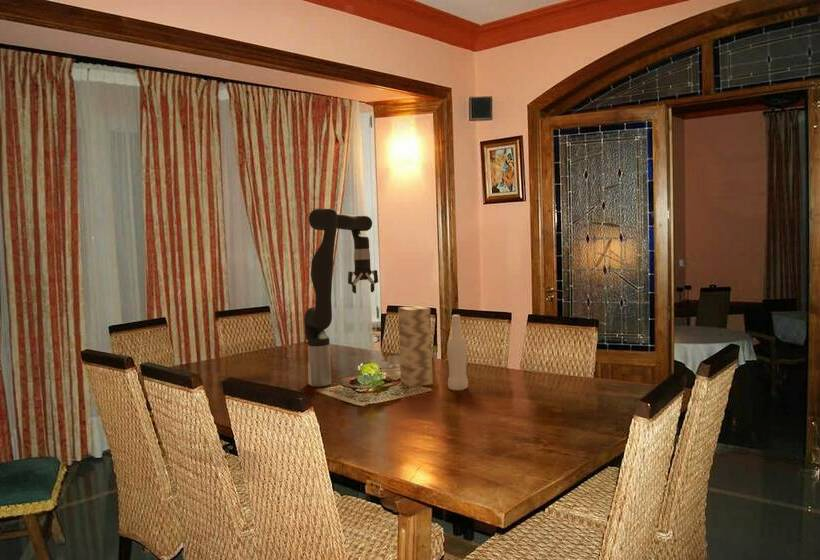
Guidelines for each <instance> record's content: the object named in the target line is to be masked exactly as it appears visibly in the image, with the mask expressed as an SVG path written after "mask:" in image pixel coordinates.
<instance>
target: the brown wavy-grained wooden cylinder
mask: <svg viewBox="0 0 820 560" xmlns="http://www.w3.org/2000/svg"><path fill="white" fill-rule="evenodd" d="M397 311H398V312H397V316H398V336H399V337H398V339H399V355H400V372H401V380H400V382H401V381H402V382H403V383H402V382H401V383H402V384H404V383H405V384H404V385H406V384H407V385H406V386H408V385H409V386H408V387H410V386H414V387H420V386H421V387H423V386H429V385H433V360H432V359H433V358H432V357H433V355H432V330H431V329H432V325H431V324H432V323H431V322H432V321H431V320H432V319H431V308H430V307H425V306H421V305H415V306H414V305H413V306H402V307H398V308H397Z"/></svg>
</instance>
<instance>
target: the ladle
mask: <svg viewBox="0 0 820 560" xmlns="http://www.w3.org/2000/svg"><path fill="white" fill-rule="evenodd" d="M386 357H387V359H386V360H387V361H381V362H378V367H379V366H380V368H381V369H393V368H400V354H399V355H398V354H397V355H390V356H386ZM381 369H380V370H381Z"/></svg>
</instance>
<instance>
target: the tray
mask: <svg viewBox="0 0 820 560" xmlns="http://www.w3.org/2000/svg"><path fill="white" fill-rule="evenodd" d="M380 370H382V371H384V372H386V373H387V374H388V375H387V377H392V378H401V372H400V368H393V369H380Z"/></svg>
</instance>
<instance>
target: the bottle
mask: <svg viewBox="0 0 820 560" xmlns="http://www.w3.org/2000/svg"><path fill="white" fill-rule="evenodd" d="M461 321H462V319H461V315H460V314H453V315H451V337H450V338H449V339H448V340H447V345H446V348H447V349H446V351H447V360H448V374H449V375H448V379H447V386H448V389H449V390H451V391H465V390H466V388H467V389H468V386H469V379H468V377H467V350H468V349H467V347H468V346H467V341H466V340H465V338H464V336H462V327H461V323H462V322H461ZM464 389H465V390H464Z"/></svg>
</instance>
